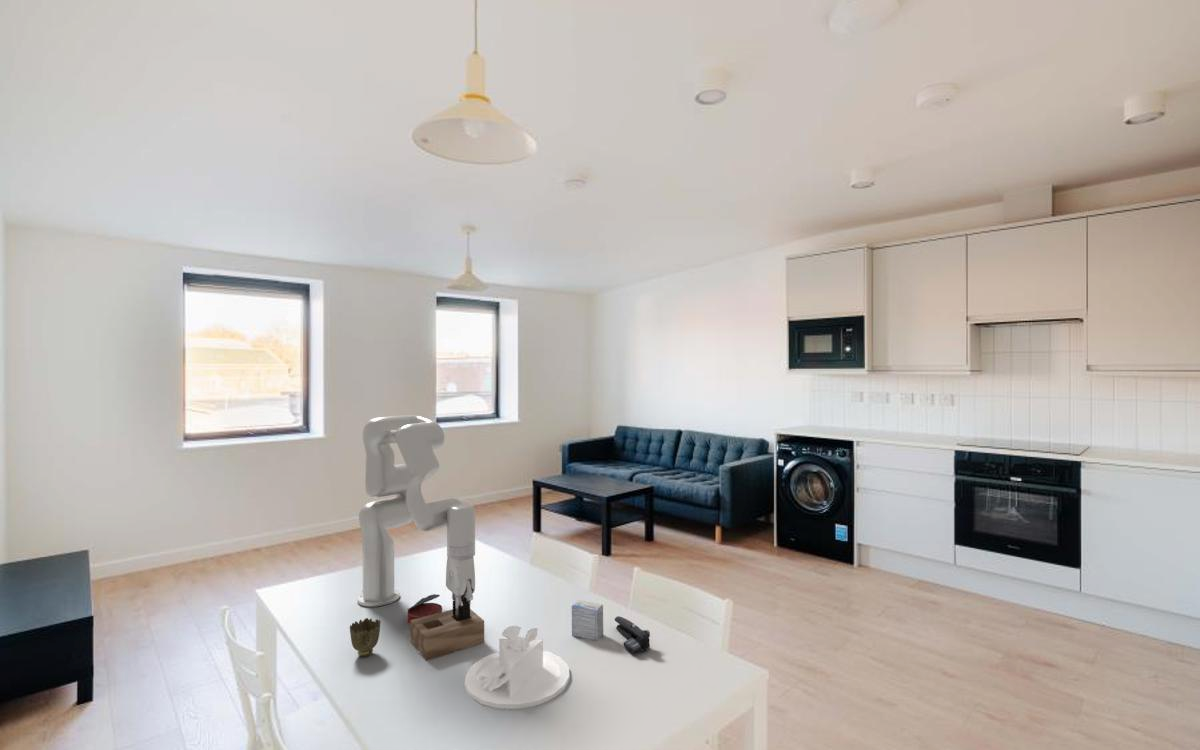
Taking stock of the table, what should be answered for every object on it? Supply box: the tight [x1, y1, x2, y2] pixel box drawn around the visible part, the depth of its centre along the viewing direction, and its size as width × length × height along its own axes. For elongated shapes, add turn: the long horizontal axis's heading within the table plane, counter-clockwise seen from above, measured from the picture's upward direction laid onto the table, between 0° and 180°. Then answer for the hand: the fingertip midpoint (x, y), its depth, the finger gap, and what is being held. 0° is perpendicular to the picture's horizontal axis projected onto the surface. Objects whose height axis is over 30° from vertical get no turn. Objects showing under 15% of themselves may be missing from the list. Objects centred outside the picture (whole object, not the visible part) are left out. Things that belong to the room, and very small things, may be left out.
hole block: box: [410, 608, 485, 661], centre depth 155 cm, size 12×16×6 cm
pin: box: [455, 591, 466, 621], centre depth 157 cm, size 3×3×9 cm
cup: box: [348, 617, 381, 658], centre depth 148 cm, size 8×7×8 cm
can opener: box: [614, 615, 651, 655], centre depth 156 cm, size 18×7×6 cm, turn 21°
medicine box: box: [571, 599, 604, 642], centre depth 159 cm, size 8×4×9 cm, turn 65°
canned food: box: [406, 593, 443, 626], centre depth 169 cm, size 11×10×10 cm
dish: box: [463, 625, 571, 710], centre depth 137 cm, size 25×25×11 cm
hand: (461, 615), depth 157 cm, fingers closed on pin, 3 cm apart
